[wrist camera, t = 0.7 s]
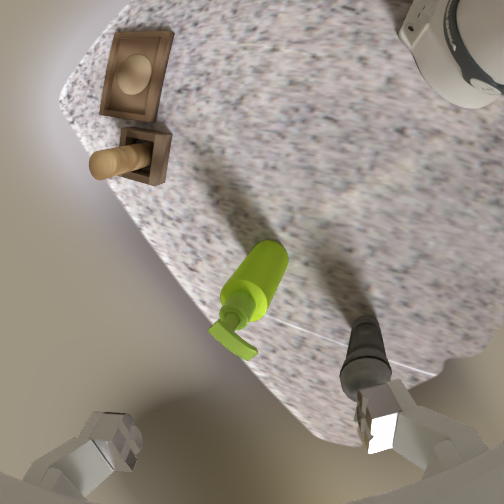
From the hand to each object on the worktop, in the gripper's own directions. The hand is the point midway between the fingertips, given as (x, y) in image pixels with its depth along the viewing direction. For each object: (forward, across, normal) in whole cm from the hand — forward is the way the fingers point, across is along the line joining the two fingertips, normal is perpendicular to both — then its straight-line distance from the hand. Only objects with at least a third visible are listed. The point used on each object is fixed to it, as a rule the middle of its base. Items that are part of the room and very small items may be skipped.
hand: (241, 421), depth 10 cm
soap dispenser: (+39, -2, +6) cm, 40 cm away
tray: (+41, +14, -28) cm, 51 cm away
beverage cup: (+36, -16, +19) cm, 44 cm away
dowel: (+42, +15, -14) cm, 47 cm away
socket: (+42, +15, -14) cm, 47 cm away
